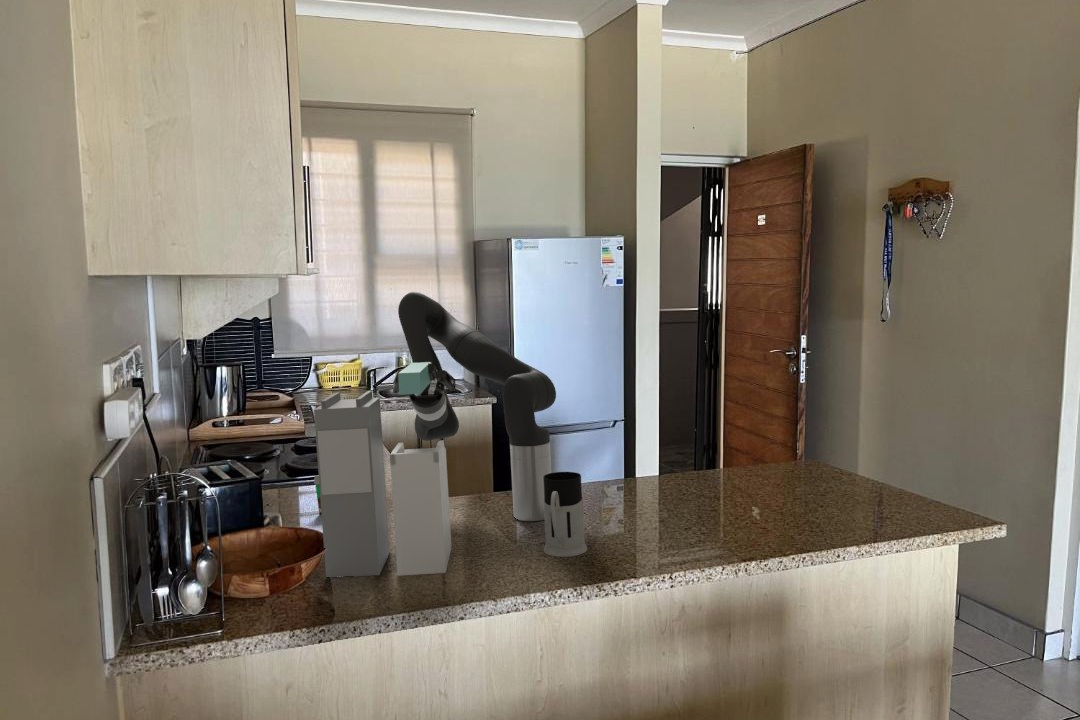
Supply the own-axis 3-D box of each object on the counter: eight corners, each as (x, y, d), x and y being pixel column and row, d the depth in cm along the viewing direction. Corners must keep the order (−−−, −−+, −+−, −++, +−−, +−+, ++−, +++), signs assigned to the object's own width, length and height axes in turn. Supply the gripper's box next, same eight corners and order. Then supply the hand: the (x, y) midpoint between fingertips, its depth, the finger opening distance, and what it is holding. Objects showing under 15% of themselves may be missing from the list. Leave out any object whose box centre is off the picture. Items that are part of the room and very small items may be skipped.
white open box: (451, 547, 167) (445, 437, 165) (445, 572, 152) (438, 451, 150) (407, 550, 166) (400, 440, 164) (397, 575, 151) (389, 454, 149)
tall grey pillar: (389, 552, 165) (379, 390, 162) (379, 575, 152) (367, 398, 149) (340, 555, 165) (329, 392, 162) (325, 578, 152) (313, 401, 149)
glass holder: (590, 543, 165) (587, 471, 164) (578, 566, 151) (574, 488, 150) (548, 542, 167) (545, 470, 166) (532, 565, 153) (528, 487, 152)
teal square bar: (431, 380, 171) (430, 362, 170) (420, 393, 151) (419, 372, 150) (412, 381, 171) (411, 362, 170) (399, 394, 151) (398, 373, 150)
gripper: (396, 385, 182) (384, 352, 166) (460, 382, 182) (453, 349, 167) (396, 416, 179) (382, 386, 163) (460, 413, 179) (453, 383, 164)
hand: (418, 367), depth 165 cm, fingers closed on teal square bar, 4 cm apart
